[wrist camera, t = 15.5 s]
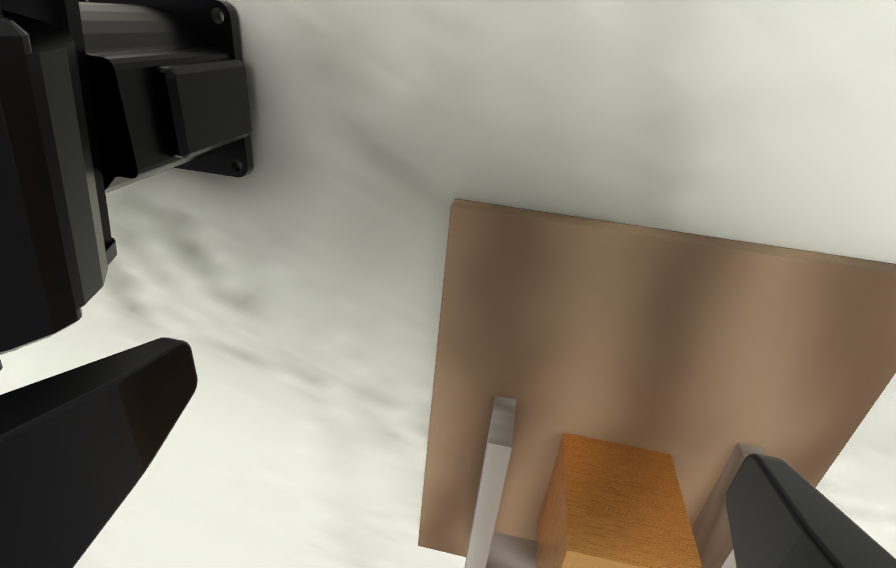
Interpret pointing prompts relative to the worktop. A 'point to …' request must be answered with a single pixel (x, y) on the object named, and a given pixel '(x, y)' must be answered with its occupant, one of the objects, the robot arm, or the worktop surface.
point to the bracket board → (637, 366)
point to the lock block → (613, 509)
